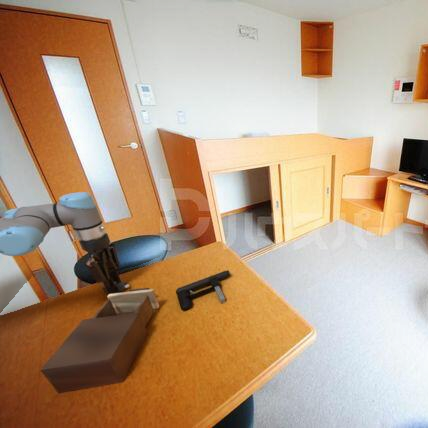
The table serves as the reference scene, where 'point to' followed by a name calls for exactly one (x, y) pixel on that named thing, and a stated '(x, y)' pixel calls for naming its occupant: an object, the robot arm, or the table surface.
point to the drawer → (130, 304)
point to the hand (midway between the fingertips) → (115, 288)
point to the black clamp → (215, 286)
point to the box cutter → (118, 286)
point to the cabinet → (96, 353)
